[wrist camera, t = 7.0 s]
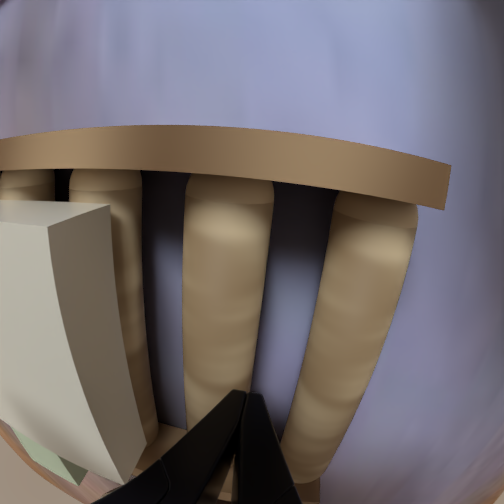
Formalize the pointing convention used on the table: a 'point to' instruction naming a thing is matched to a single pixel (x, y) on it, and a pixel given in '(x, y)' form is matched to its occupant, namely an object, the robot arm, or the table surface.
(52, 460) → the block
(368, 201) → the roller track
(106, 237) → the slab
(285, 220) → the table surface
